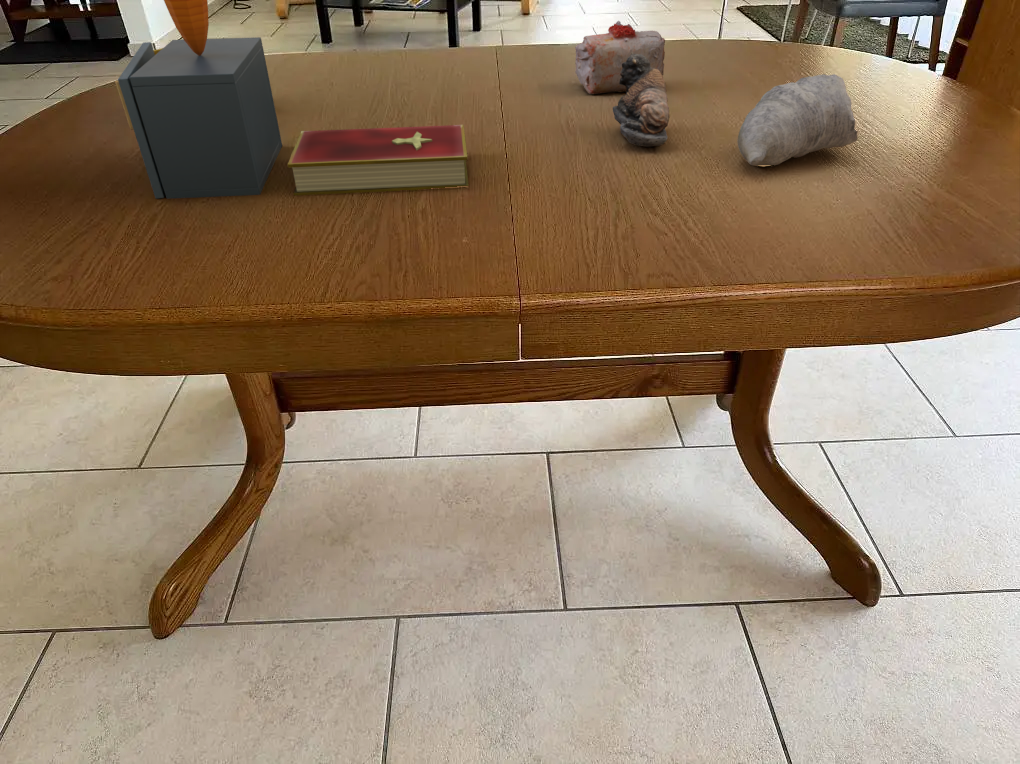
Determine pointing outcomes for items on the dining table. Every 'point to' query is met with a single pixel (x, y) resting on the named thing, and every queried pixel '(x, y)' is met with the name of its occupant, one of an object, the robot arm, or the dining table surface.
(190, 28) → the carrot
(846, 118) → the seashell
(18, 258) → the dining table surface
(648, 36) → the food item
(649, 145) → the bison figurine
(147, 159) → the door
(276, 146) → the cupboard
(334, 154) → the hardcover book
